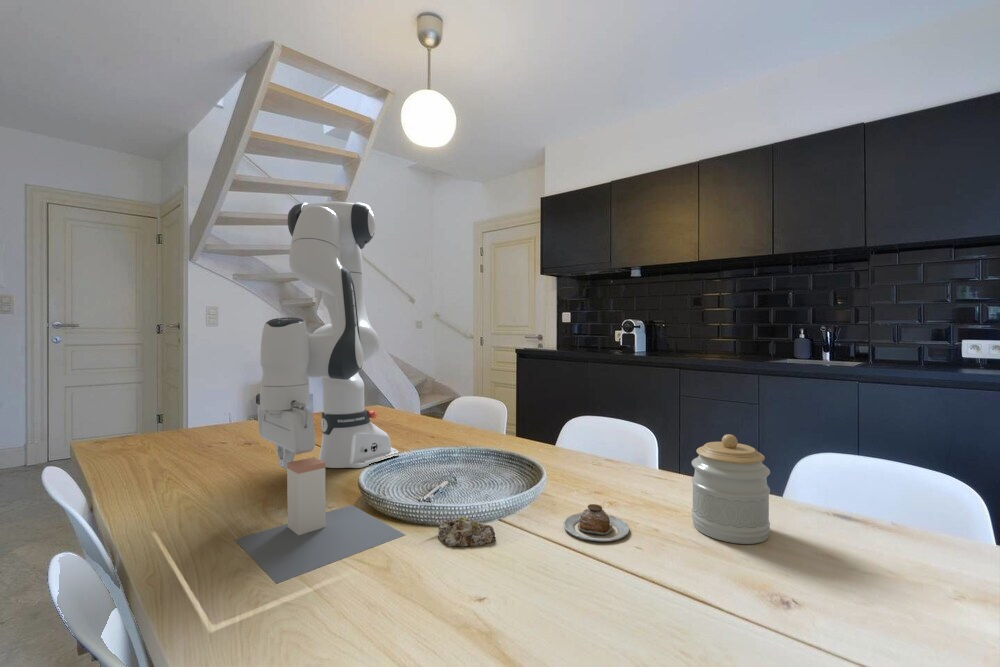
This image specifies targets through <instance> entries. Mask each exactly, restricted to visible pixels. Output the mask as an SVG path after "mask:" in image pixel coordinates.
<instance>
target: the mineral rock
mask: <svg viewBox="0 0 1000 667" xmlns="http://www.w3.org/2000/svg"><path fill="white" fill-rule="evenodd" d="M496 539H497V537H496V532H495V530H494V527H493V526H492V525H491V524H484V523H482V522H480V521H479V522H478V521H474V520H469V518H468V517H466V516H465V515H461V516H459V518H458V519H454V520H450V519H445V520H444V521H443V520H441V521H440V524H439V527H438V540H439V541H441V542H442V543H444V544H446V545H447V546H448V547H462V548H464V547H469V546H470V547H471V546H472V547H475V546H476V547H477V546H478V547H481V546H483V545H485V544H490V543H491V542H494V541H495V540H496Z"/></svg>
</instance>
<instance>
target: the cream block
mask: <svg viewBox="0 0 1000 667" xmlns="http://www.w3.org/2000/svg"><path fill="white" fill-rule="evenodd" d="M286 472H287V473H286V478H287V479H286V481H287V484H286V486H287V489H286V490H287V491H286V492H287V502H286V503H287V524H288V528H290V529H291V530H292V531H294V532H295V533H296V534H297V535H301V534H304V533H308V532H311V531H314V530H317V529H320V528H323V527H326V512H327V509H326V508H327V507H326V506H327V504H326V499H327V498H326V467H325V462H323V461H321V460H319V458H316V457H314V456H313V457H308V458H303V459H299V460H293V462H288V463H287V469H286Z"/></svg>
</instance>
